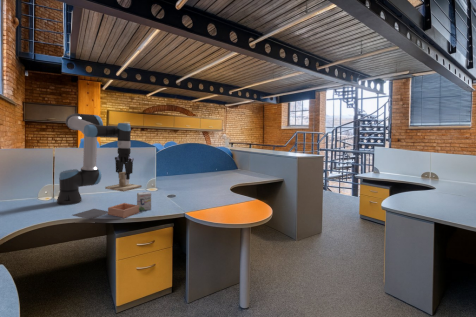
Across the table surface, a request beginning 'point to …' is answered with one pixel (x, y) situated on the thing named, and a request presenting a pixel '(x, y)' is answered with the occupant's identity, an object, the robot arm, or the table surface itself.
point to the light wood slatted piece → (123, 184)
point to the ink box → (144, 200)
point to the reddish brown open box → (123, 210)
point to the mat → (91, 213)
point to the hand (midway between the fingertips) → (124, 183)
